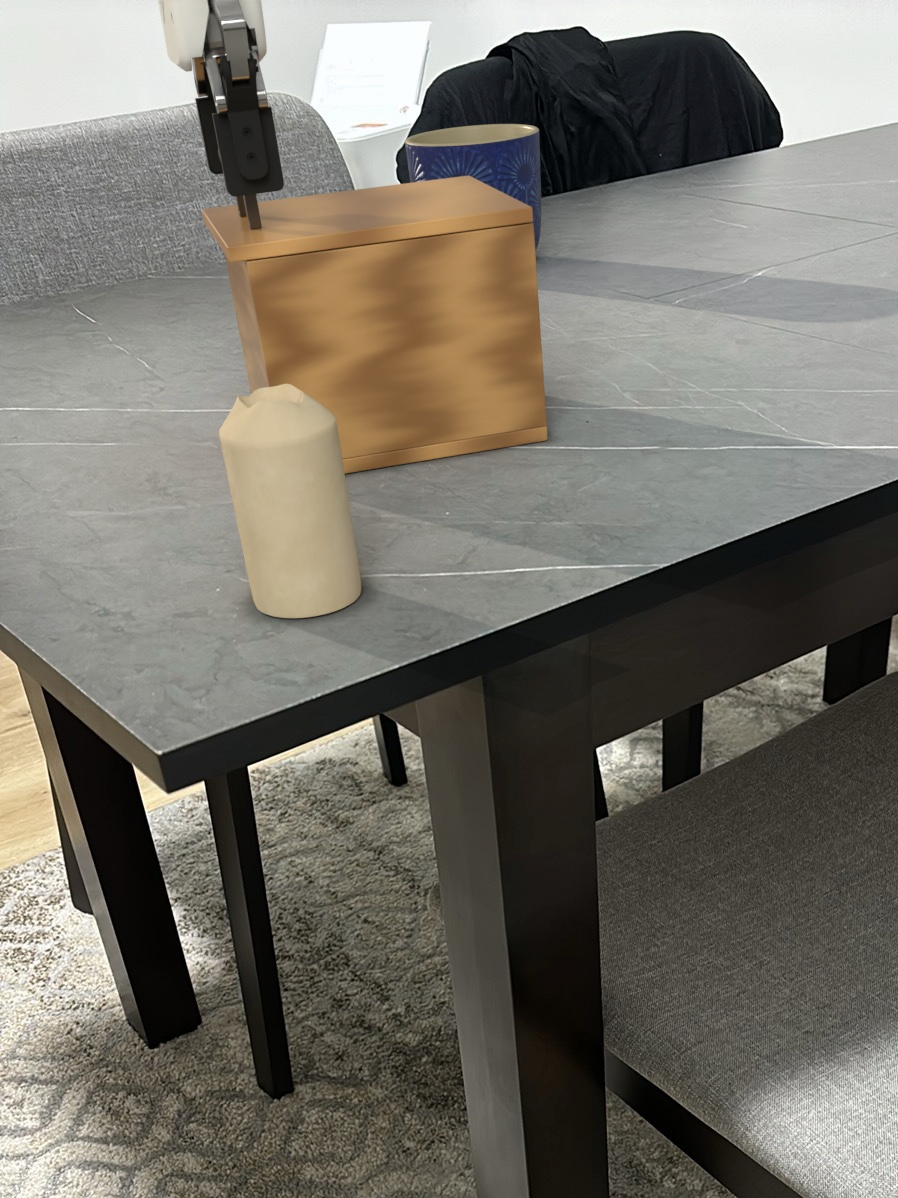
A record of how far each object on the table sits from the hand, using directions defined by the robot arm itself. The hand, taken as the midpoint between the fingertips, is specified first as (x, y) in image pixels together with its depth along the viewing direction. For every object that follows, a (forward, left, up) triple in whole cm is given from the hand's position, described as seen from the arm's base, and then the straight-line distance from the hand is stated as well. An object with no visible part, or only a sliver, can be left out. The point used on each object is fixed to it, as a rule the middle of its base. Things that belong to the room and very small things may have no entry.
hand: (245, 181), depth 82 cm
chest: (+7, 0, -15) cm, 17 cm away
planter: (+26, +49, -16) cm, 58 cm away
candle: (-3, -26, -16) cm, 30 cm away
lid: (+7, 0, -3) cm, 7 cm away
